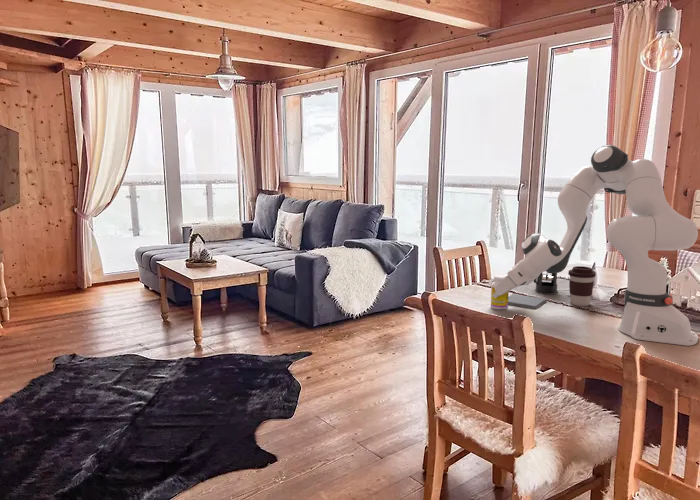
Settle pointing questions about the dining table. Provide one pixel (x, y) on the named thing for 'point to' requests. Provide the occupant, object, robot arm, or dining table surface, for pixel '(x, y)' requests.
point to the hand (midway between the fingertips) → (498, 294)
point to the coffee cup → (581, 285)
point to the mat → (525, 301)
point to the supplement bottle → (502, 300)
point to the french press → (546, 284)
